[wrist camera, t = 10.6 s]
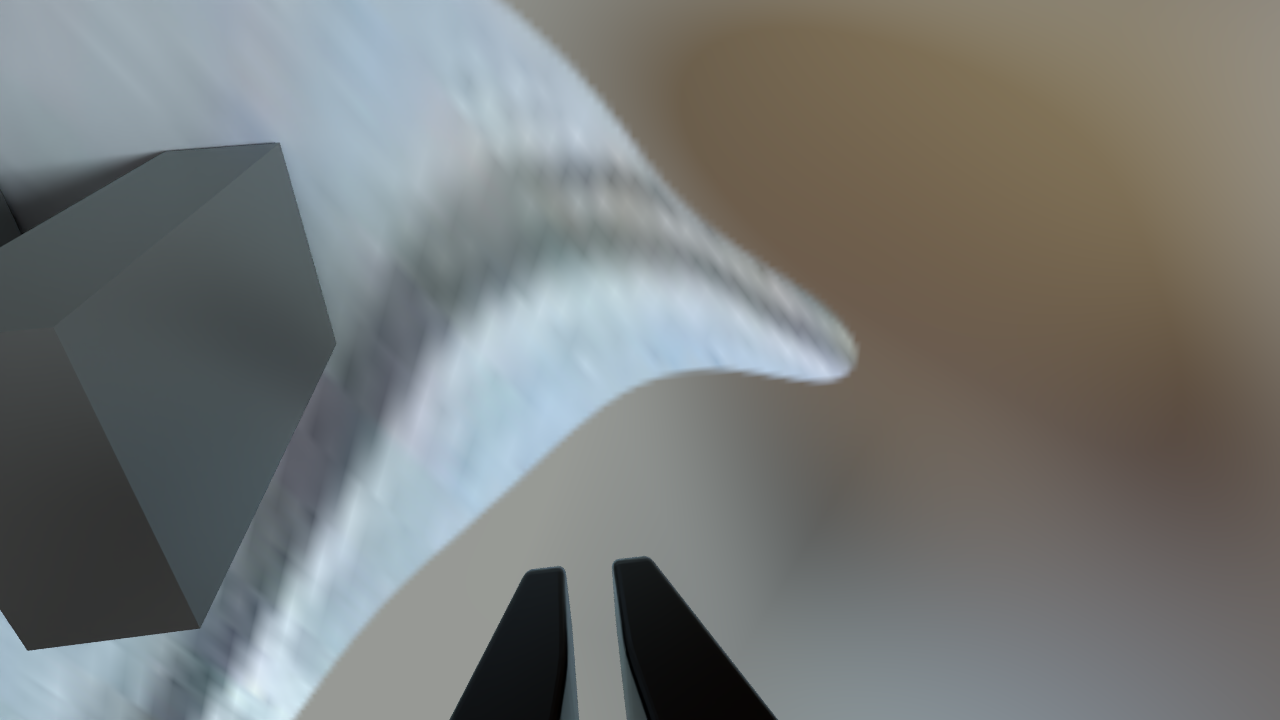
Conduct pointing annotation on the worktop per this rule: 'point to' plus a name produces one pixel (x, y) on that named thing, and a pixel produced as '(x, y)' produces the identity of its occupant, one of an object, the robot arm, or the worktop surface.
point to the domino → (149, 390)
